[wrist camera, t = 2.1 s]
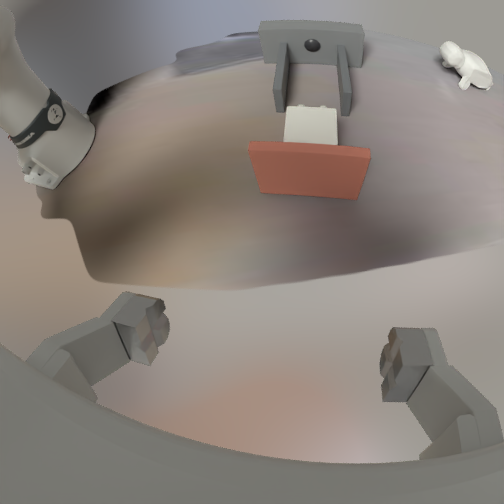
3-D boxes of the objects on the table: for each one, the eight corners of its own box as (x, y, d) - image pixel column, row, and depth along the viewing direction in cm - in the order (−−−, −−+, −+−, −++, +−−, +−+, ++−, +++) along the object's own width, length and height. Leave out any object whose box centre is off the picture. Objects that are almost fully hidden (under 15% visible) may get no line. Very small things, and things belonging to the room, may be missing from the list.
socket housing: (255, 112, 41) (245, 74, 33) (267, 52, 46) (260, 21, 38) (370, 118, 37) (378, 81, 30) (358, 56, 42) (361, 24, 35)
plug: (261, 195, 36) (248, 150, 27) (271, 124, 39) (262, 76, 30) (356, 202, 34) (370, 158, 25) (352, 129, 37) (360, 80, 28)
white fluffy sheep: (463, 77, 41) (422, 52, 38) (482, 56, 33) (442, 26, 30) (481, 103, 39) (442, 78, 35) (503, 82, 31) (466, 50, 27)
